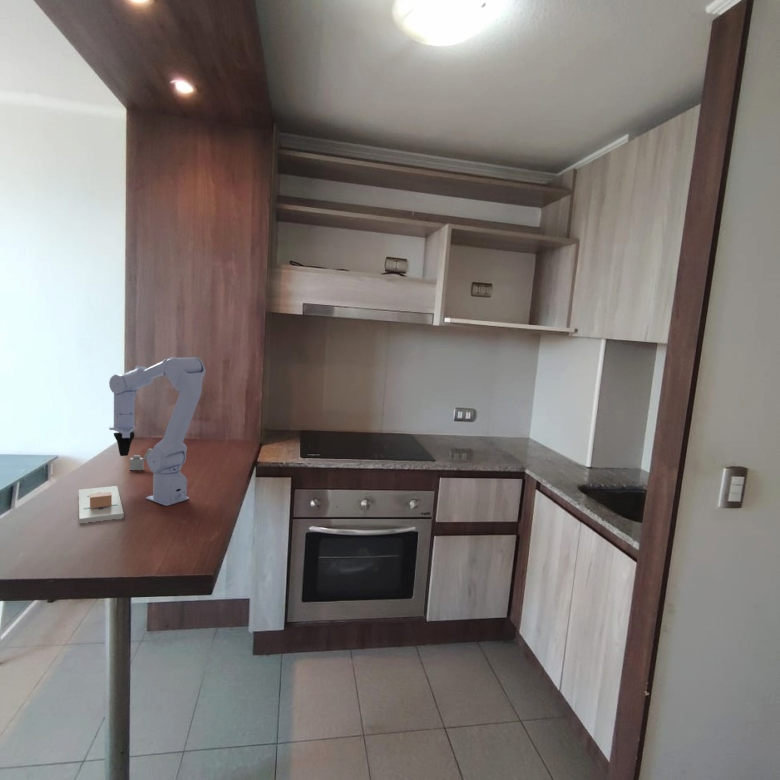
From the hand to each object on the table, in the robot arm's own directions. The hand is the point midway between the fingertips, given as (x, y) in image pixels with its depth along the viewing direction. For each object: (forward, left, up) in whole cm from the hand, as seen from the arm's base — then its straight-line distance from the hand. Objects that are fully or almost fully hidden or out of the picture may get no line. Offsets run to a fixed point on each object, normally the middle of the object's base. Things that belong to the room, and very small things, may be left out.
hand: (123, 455), depth 152 cm
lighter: (+12, -14, -11) cm, 21 cm away
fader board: (-10, +13, -10) cm, 19 cm away
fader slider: (-14, +15, -8) cm, 22 cm away
